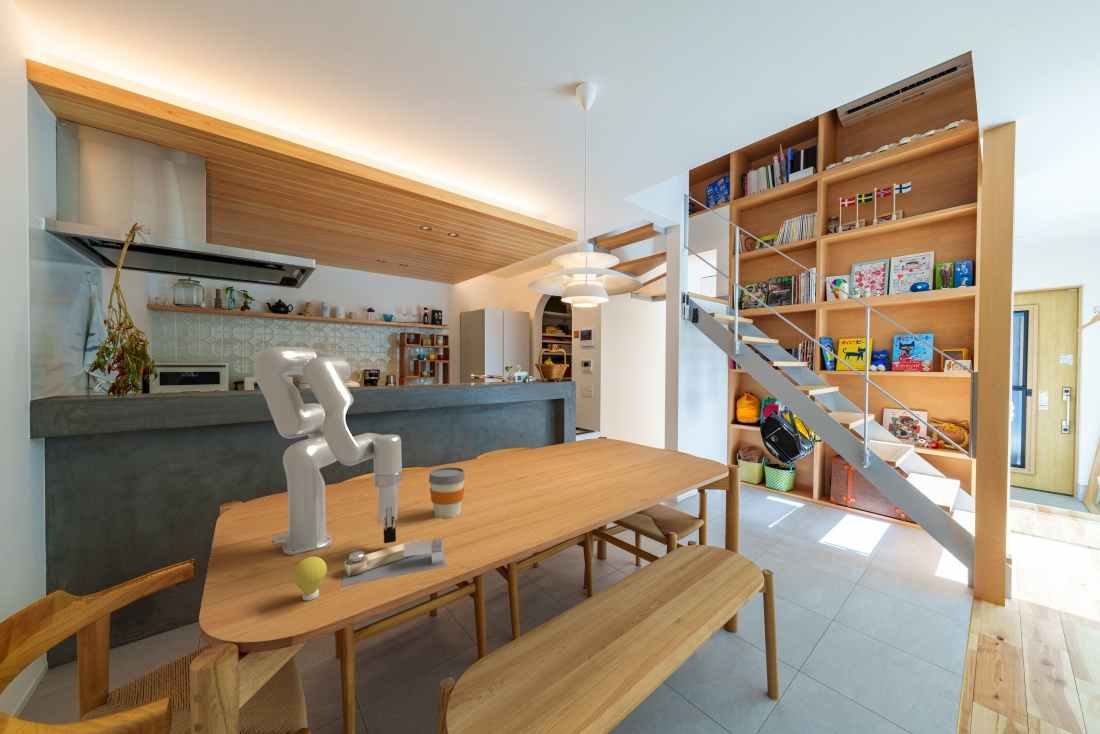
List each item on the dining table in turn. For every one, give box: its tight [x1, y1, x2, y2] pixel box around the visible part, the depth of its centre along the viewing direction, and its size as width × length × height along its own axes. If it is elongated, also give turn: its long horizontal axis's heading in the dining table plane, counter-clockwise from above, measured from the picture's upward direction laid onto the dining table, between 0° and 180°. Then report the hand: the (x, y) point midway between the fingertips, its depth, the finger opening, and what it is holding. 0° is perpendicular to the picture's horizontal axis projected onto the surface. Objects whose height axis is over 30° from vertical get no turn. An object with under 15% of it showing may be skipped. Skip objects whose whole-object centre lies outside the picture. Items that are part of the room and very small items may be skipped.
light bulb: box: [292, 556, 328, 601], centre depth 93 cm, size 7×7×10 cm
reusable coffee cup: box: [428, 466, 466, 519], centre depth 145 cm, size 13×13×15 cm
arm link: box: [344, 539, 420, 576], centre depth 108 cm, size 19×5×2 cm, turn 129°
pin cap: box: [348, 550, 365, 562], centre depth 104 cm, size 4×4×1 cm
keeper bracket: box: [404, 538, 444, 565], centre depth 109 cm, size 10×5×4 cm, turn 106°
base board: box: [340, 550, 448, 587], centre depth 108 cm, size 25×14×1 cm, turn 111°
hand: (390, 541), depth 116 cm, fingers closed
